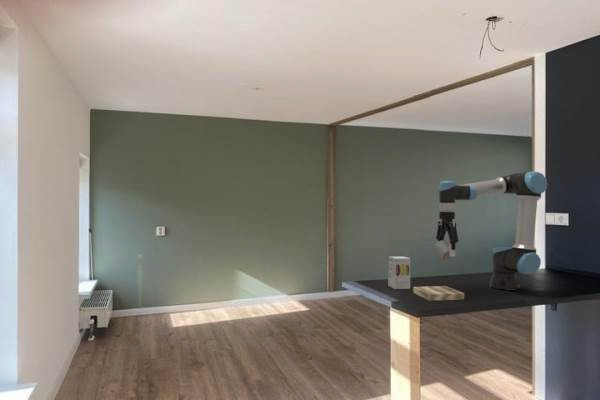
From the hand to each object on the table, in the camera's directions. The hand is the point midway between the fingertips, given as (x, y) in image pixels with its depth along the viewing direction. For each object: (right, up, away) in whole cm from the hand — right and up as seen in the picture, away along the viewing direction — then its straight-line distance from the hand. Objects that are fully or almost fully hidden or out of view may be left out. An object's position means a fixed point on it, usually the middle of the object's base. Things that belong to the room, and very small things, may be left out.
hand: (446, 255), depth 210 cm
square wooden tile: (-5, -20, -2) cm, 21 cm away
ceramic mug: (0, -3, +1) cm, 3 cm away
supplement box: (-20, -21, +19) cm, 34 cm away
